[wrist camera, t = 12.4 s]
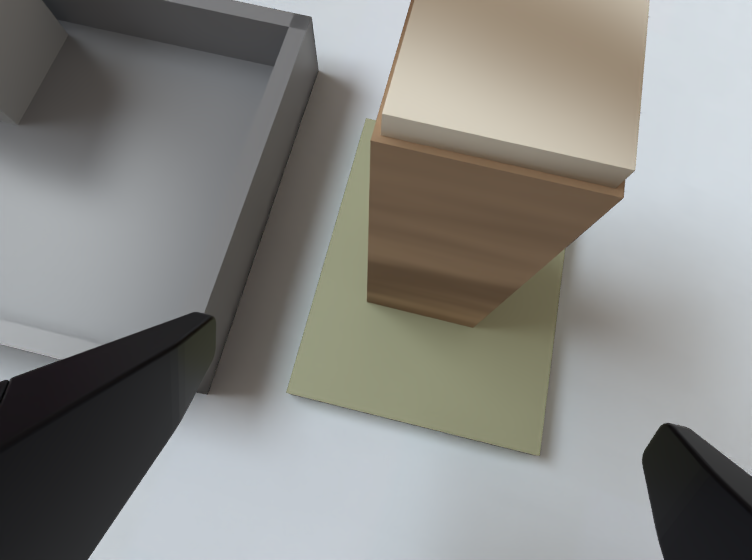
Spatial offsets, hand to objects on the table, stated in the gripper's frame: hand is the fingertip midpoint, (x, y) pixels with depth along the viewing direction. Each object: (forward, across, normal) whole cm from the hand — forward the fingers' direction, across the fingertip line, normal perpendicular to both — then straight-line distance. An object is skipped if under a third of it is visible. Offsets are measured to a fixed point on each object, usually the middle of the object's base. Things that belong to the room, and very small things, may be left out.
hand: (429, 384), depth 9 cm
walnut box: (+11, 0, +2) cm, 11 cm away
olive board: (+11, -1, +3) cm, 12 cm away
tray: (+12, +18, +2) cm, 22 cm away
